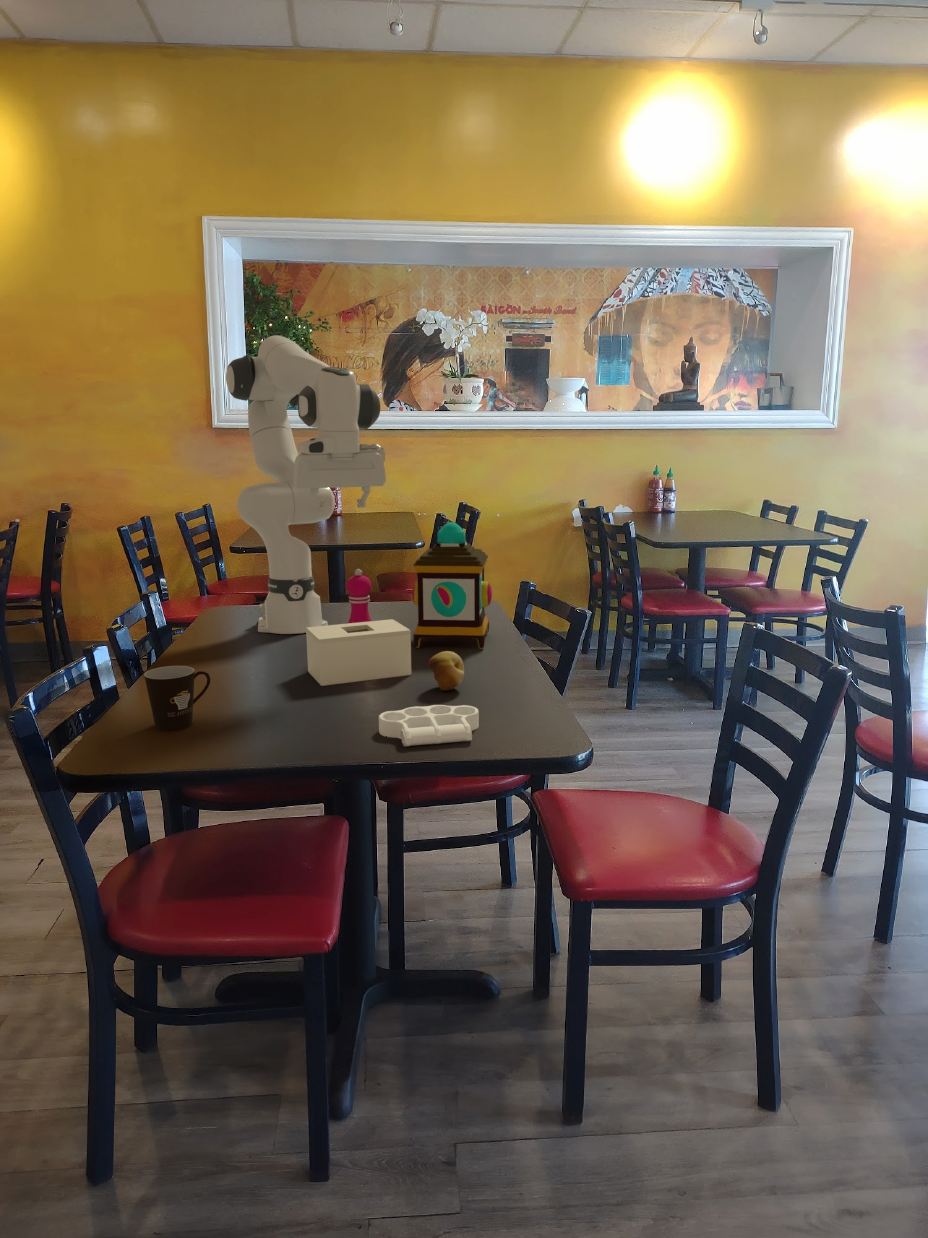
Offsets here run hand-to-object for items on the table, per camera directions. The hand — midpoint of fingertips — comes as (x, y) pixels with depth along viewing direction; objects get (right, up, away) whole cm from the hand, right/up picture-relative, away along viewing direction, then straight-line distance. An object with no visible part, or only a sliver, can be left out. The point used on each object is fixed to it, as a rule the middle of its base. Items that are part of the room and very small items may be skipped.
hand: (341, 508), depth 190 cm
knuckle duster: (+21, -45, -38) cm, 63 cm away
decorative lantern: (+24, -30, +27) cm, 47 cm away
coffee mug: (-24, -44, -34) cm, 60 cm away
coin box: (+4, -37, -2) cm, 37 cm away
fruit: (+24, -39, -14) cm, 48 cm away
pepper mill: (+2, -32, +18) cm, 37 cm away
